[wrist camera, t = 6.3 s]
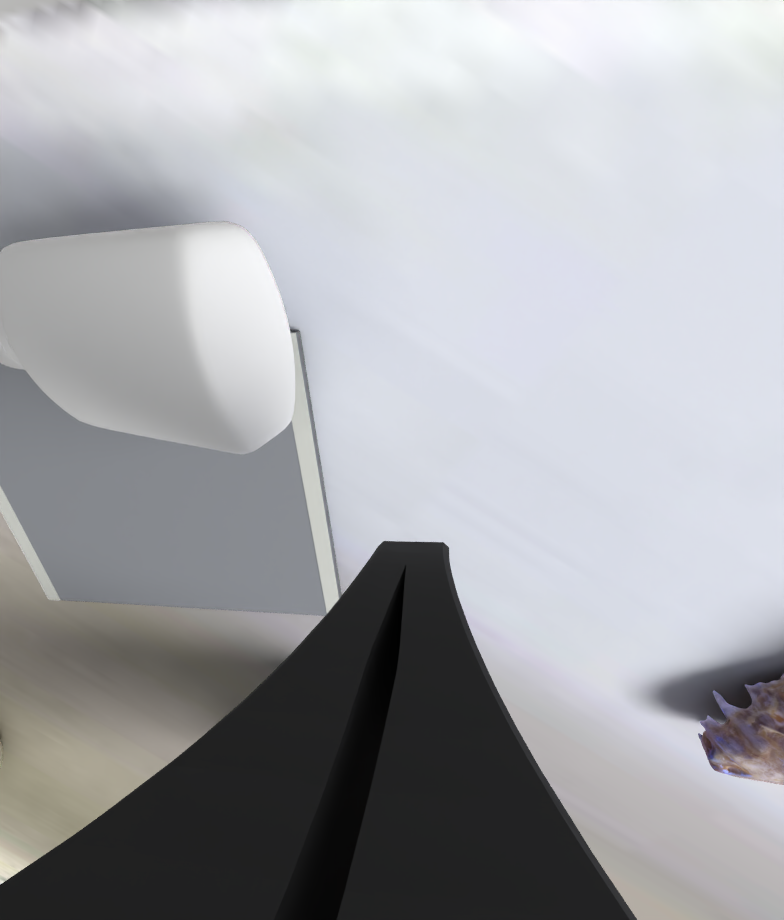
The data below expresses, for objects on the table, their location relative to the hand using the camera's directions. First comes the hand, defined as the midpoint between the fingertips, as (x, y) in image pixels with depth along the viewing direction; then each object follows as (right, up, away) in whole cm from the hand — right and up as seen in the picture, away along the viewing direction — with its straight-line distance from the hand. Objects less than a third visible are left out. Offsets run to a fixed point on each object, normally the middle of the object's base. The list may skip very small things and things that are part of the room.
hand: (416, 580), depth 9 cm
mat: (-11, +1, +10) cm, 15 cm away
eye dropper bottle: (-4, +5, +2) cm, 7 cm away
